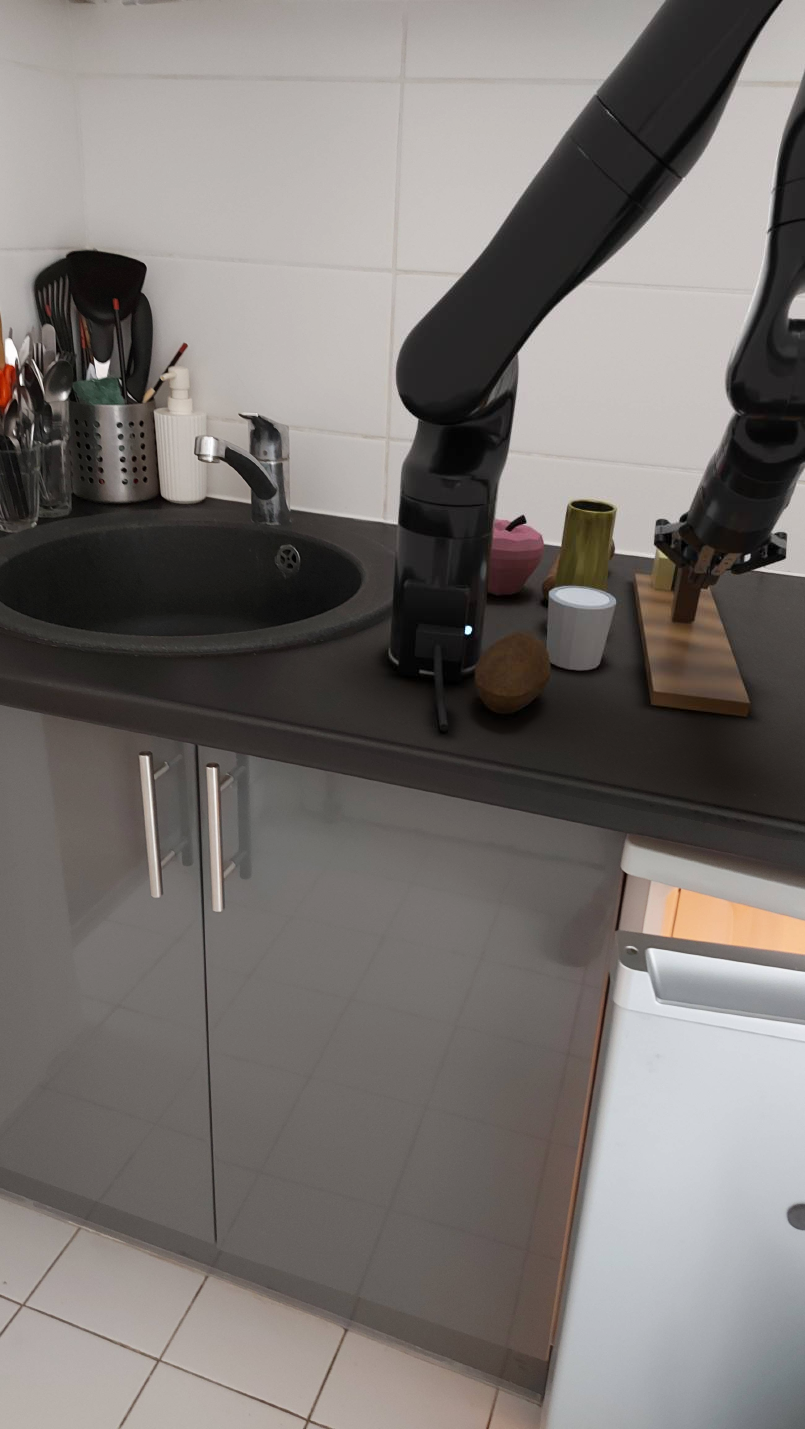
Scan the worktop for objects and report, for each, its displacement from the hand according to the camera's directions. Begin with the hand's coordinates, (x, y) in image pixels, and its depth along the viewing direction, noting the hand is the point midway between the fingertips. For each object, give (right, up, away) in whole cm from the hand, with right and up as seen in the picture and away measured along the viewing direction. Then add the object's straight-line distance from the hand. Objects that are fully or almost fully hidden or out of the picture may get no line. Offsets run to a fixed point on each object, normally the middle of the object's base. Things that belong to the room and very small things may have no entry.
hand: (699, 580), depth 104 cm
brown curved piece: (-9, +2, +22) cm, 24 cm away
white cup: (-13, -8, +1) cm, 15 cm away
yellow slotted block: (+3, +2, +20) cm, 21 cm away
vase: (-12, -5, +8) cm, 15 cm away
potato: (-21, -13, -10) cm, 27 cm away
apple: (-19, +1, +18) cm, 26 cm away
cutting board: (0, -6, +8) cm, 10 cm away
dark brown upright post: (+2, +1, +17) cm, 17 cm away
